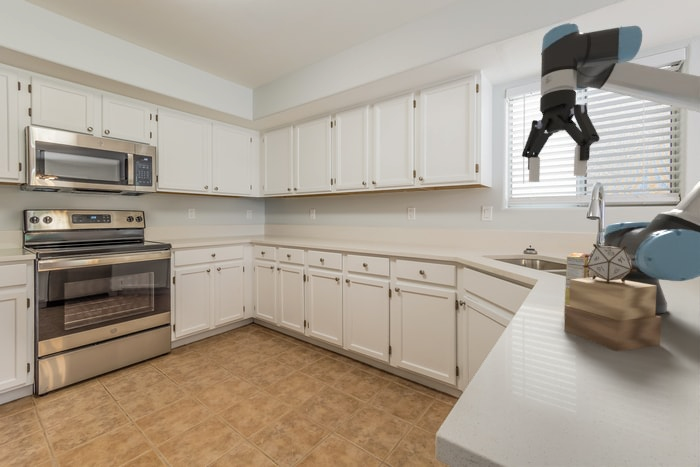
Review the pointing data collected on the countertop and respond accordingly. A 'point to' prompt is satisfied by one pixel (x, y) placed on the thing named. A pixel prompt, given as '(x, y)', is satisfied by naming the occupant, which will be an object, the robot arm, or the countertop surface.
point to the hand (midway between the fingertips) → (555, 179)
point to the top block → (613, 298)
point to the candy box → (575, 271)
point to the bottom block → (613, 329)
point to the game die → (609, 263)
